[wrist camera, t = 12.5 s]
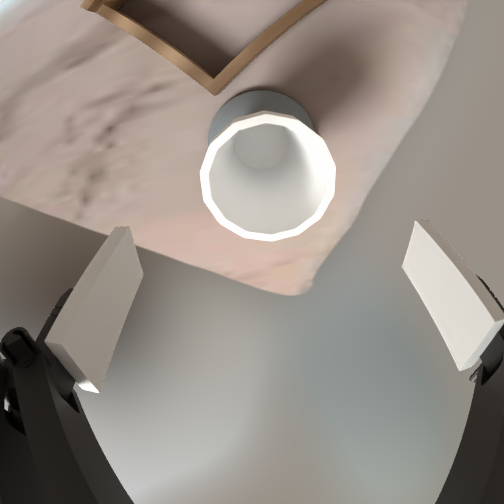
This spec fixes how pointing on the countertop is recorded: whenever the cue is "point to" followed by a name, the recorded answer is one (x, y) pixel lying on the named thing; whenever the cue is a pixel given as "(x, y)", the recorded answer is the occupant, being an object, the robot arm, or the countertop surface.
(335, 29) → the countertop surface
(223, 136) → the foam cup
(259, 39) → the frame
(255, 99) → the rubber mat
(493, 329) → the robot arm
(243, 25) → the countertop surface
